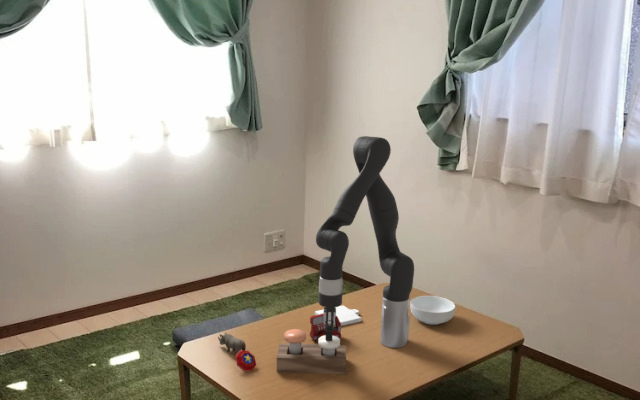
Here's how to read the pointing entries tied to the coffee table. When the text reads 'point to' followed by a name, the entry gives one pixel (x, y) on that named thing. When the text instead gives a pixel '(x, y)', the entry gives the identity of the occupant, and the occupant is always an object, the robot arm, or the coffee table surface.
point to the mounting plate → (345, 315)
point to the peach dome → (295, 340)
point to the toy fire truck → (323, 327)
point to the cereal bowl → (432, 309)
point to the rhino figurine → (232, 343)
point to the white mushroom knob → (329, 345)
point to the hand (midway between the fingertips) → (328, 339)
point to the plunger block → (311, 360)
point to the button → (245, 360)
